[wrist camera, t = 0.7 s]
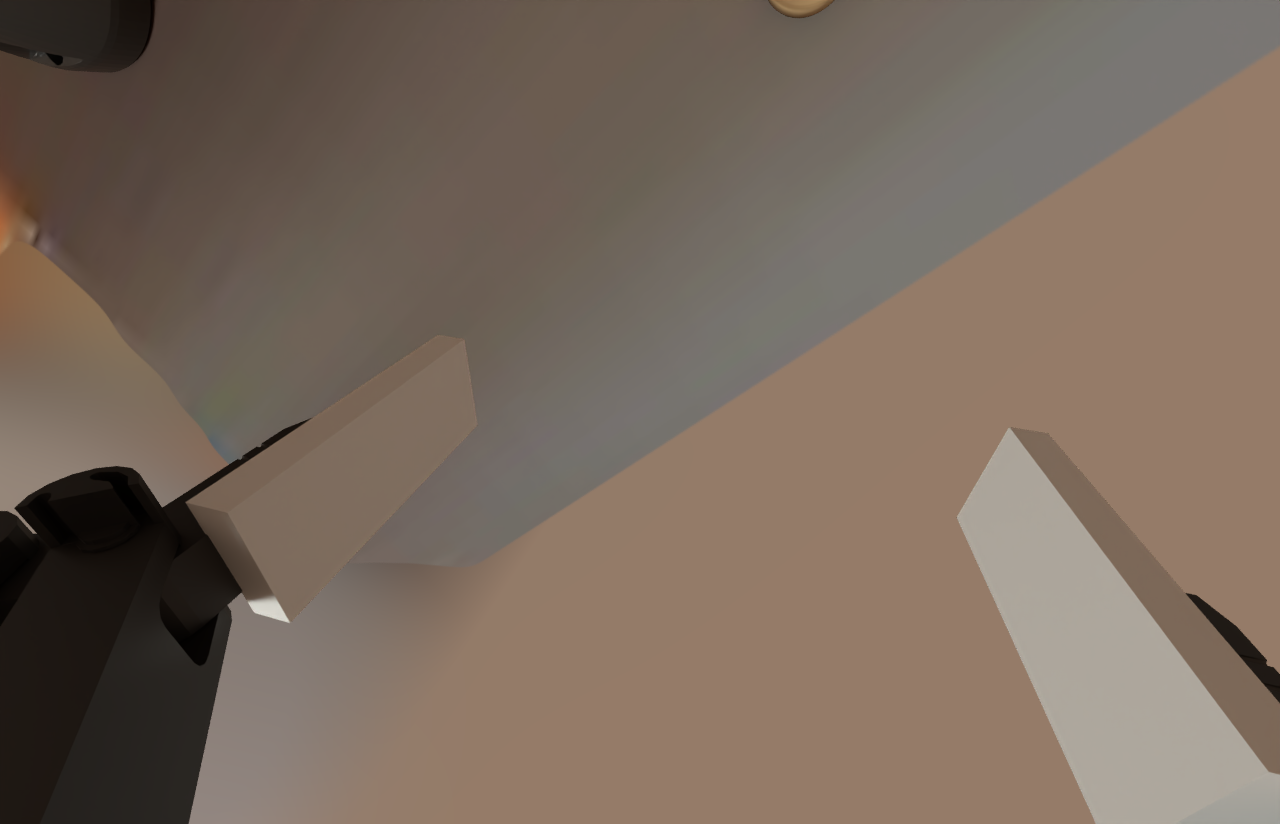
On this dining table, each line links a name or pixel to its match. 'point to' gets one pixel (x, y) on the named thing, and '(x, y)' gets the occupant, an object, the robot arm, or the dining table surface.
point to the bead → (800, 7)
